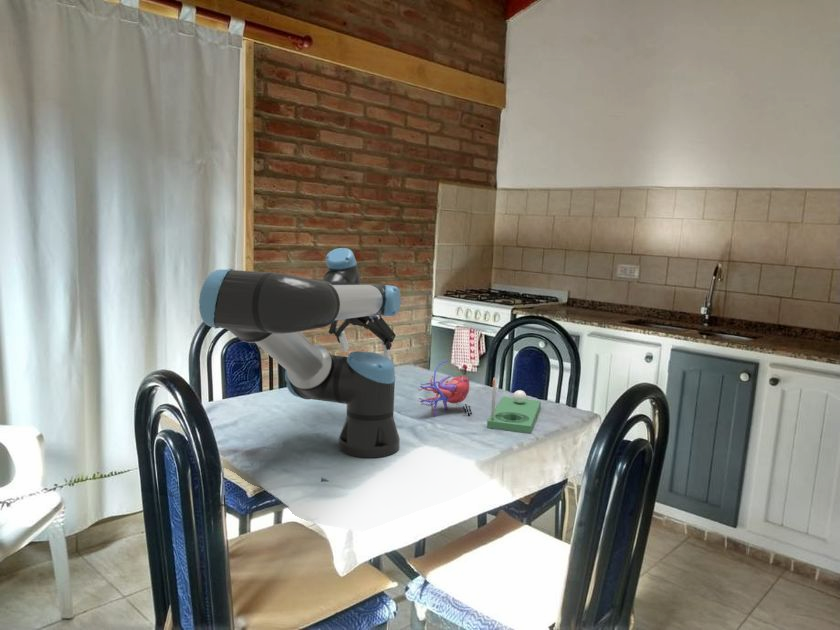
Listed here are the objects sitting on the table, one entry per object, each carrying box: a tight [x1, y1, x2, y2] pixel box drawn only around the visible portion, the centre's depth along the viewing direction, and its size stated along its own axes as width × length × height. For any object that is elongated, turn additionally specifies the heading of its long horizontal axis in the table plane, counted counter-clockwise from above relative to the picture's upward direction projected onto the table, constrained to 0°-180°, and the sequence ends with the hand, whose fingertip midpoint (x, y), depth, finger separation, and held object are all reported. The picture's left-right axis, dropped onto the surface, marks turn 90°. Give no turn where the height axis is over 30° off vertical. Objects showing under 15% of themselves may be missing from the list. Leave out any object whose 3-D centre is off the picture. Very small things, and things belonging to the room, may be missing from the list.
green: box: [486, 377, 542, 434], centre depth 188 cm, size 27×12×14 cm, turn 164°
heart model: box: [418, 359, 473, 417], centre depth 191 cm, size 17×10×20 cm
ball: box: [512, 389, 527, 403], centre depth 197 cm, size 4×4×4 cm
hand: (367, 352), depth 191 cm, fingers open, 13 cm apart
